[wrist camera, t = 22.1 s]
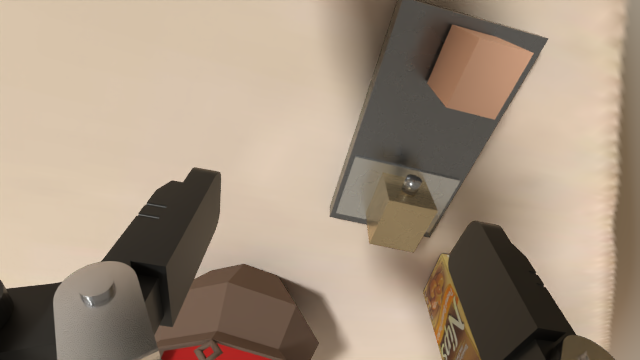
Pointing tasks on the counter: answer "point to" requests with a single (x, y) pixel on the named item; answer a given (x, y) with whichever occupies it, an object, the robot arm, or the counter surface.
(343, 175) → the press bed
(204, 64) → the counter surface
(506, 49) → the block
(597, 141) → the counter surface
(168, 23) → the counter surface
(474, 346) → the candy box
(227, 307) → the brown cauldron
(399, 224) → the block
